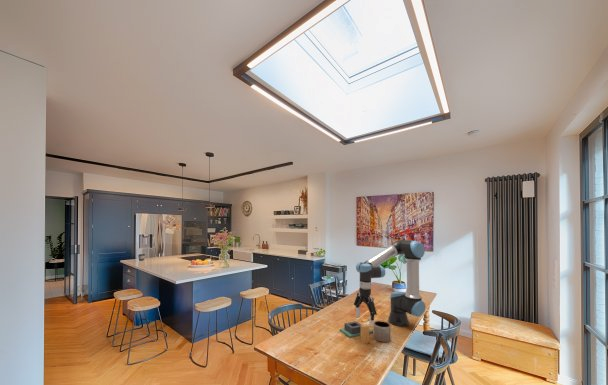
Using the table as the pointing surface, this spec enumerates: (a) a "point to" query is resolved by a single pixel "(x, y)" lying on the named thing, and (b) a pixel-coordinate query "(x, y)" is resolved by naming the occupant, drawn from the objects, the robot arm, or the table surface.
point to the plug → (364, 334)
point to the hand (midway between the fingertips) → (364, 321)
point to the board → (352, 329)
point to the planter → (382, 331)
